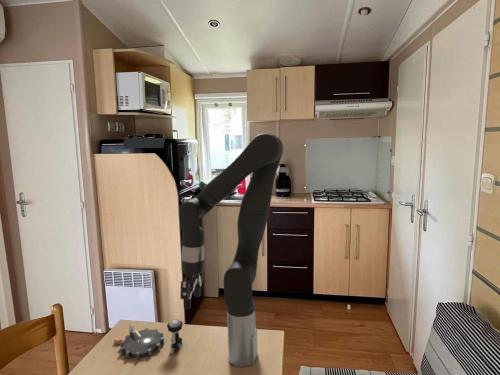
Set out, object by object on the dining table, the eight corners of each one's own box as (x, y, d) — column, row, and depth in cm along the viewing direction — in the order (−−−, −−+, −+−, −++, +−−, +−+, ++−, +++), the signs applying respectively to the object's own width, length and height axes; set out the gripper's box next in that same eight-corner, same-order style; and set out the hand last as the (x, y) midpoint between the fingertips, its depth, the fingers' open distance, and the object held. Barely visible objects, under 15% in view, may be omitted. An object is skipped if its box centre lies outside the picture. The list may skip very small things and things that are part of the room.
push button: (178, 356, 106) (176, 329, 105) (164, 354, 107) (162, 327, 106) (186, 344, 113) (184, 318, 111) (172, 342, 114) (171, 317, 113)
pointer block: (124, 341, 115) (123, 337, 115) (120, 344, 113) (120, 341, 113) (117, 340, 116) (116, 336, 116) (113, 343, 114) (113, 340, 114)
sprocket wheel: (170, 346, 111) (169, 331, 110) (127, 365, 102) (126, 348, 101) (155, 328, 123) (154, 313, 122) (115, 343, 114) (114, 328, 113)
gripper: (195, 266, 97) (194, 314, 99) (210, 251, 111) (209, 294, 113) (173, 263, 99) (172, 311, 101) (190, 249, 112) (190, 291, 115)
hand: (192, 302), depth 107 cm, fingers open, 8 cm apart
